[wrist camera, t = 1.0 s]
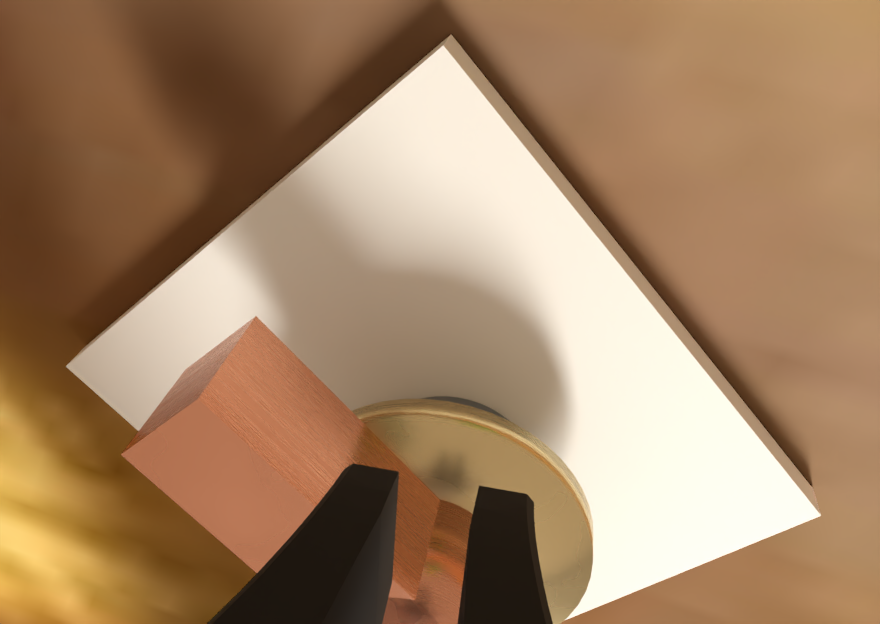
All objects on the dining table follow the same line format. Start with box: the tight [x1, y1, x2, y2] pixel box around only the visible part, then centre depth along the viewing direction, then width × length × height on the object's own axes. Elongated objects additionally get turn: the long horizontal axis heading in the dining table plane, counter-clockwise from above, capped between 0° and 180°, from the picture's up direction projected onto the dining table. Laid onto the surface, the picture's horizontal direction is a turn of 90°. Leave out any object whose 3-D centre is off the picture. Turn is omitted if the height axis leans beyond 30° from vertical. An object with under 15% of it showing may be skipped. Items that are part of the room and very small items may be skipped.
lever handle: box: [121, 316, 593, 624], centre depth 19 cm, size 8×11×4 cm
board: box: [66, 35, 821, 620], centre depth 22 cm, size 14×15×3 cm
